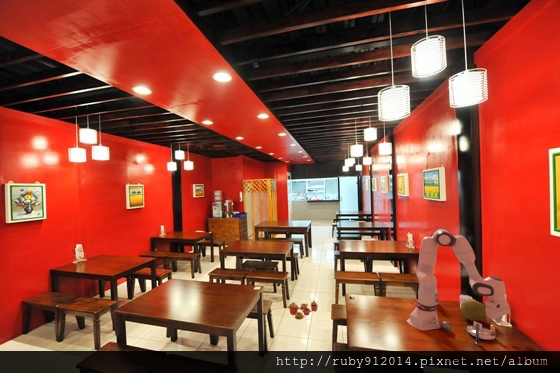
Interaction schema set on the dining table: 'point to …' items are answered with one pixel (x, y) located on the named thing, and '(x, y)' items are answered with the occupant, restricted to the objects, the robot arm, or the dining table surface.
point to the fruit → (473, 310)
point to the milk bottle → (436, 297)
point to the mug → (465, 299)
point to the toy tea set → (306, 311)
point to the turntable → (483, 332)
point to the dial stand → (477, 333)
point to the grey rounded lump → (445, 326)
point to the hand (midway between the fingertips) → (498, 322)
